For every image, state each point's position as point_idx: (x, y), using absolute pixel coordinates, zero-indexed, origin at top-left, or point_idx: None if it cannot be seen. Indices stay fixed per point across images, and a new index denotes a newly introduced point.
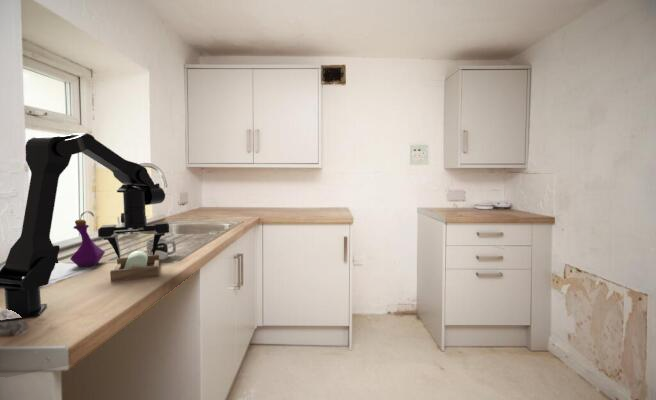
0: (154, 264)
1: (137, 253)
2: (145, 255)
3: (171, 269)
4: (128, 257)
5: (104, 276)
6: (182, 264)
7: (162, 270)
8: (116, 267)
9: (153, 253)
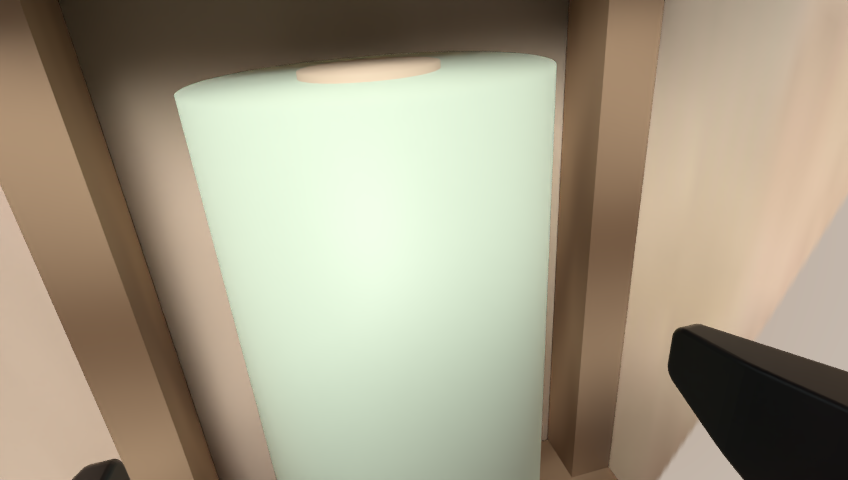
0: (591, 246)
1: (449, 384)
2: (548, 219)
3: (703, 273)
4: (245, 305)
5: (10, 403)
6: (840, 97)
7: None
8: (73, 292)
9: (701, 402)
